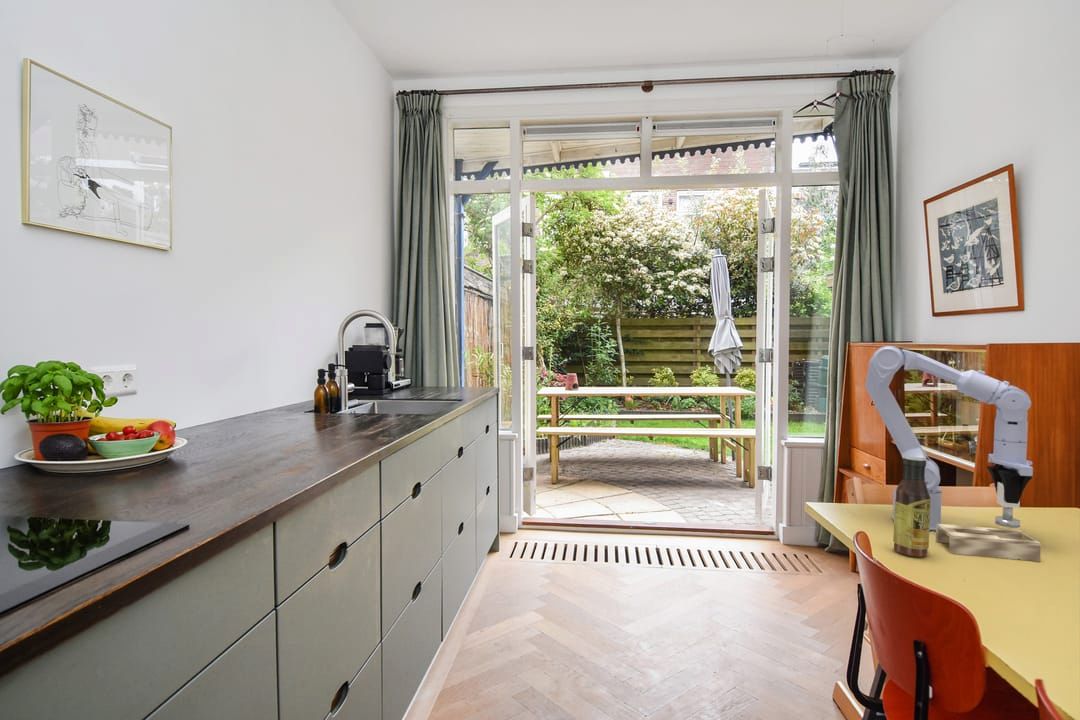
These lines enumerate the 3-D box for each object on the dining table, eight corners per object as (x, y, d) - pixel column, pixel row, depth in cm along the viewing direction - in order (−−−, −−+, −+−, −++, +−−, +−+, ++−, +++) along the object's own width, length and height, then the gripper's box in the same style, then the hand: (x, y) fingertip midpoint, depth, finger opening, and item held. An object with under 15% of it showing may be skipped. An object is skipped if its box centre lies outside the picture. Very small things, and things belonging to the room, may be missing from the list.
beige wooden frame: (951, 553, 119) (951, 535, 119) (935, 540, 127) (936, 523, 127) (1040, 561, 115) (1040, 542, 115) (1018, 547, 123) (1019, 530, 122)
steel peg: (1000, 526, 127) (1002, 485, 126) (990, 520, 131) (992, 480, 130) (1024, 528, 125) (1025, 486, 125) (1013, 522, 130) (1015, 481, 129)
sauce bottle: (917, 560, 115) (920, 462, 114) (886, 550, 120) (888, 457, 120) (935, 555, 118) (938, 459, 117) (904, 545, 124) (907, 454, 123)
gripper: (1051, 447, 119) (1048, 511, 120) (1014, 436, 133) (1012, 493, 134) (1011, 445, 121) (1008, 508, 122) (979, 434, 135) (976, 491, 136)
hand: (1007, 500), depth 128 cm, fingers closed on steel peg, 3 cm apart
